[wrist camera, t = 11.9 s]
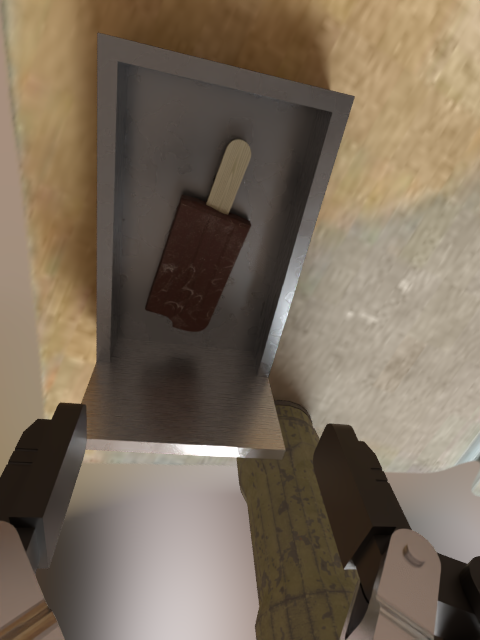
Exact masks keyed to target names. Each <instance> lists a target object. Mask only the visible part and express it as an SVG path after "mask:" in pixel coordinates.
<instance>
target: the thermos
mask: <svg viewBox="0 0 480 640" xmlns="http://www.w3.org/2000/svg"><path fill="white" fill-rule="evenodd" d="M274 404H275V408H276V412H277V416H278V420H279V425H280V429H281V433H282V437H283V441H284V445H285V453H284V456H283V458H282V460H280V459H261V458H242V457H237V467H238V476H239V485H240V490H241V493H242V495H243V497H244V499H245V501H246V502H247V505H248V514H249V522H250V531H251V539H252V547H253V555H254V565H255V573H256V582H257V590H258V598H259V611H258V615H257V620H256V624H255V630H256V639H257V640H340V637H341V633H342V630H343V627H344V623H345V620H346V617H347V613H348V610H349V607H350V604H351V600H352V597H353V594H354V590H355V587H356V584H357V581H358V580H359V579H360V578H359V575H358V572H357V569H343V566H342V563H341V559H340V556H339V553H338V549H337V546H336V542H335V539H334V536H333V532H332V529H331V526H330V522H329V519H328V516H327V512H326V509H325V506H324V502H323V499H322V496H321V492H320V489H319V486H318V482H317V479H316V475H315V472H314V468H313V455H314V451H315V449H316V447H317V444H318V442H319V437H318V435H317V433H316V431H315V429H314V428H313V426H312V421H311V418H310V416H309V414H308V412H307V411H306V410H305V409H304V408H302V407H301V406H300V405H298V404H295V403H292V402H290V401H279V400H276V401H274Z"/></svg>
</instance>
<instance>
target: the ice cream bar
mask: <svg viewBox="0 0 480 640" xmlns="http://www.w3.org/2000/svg"><path fill="white" fill-rule="evenodd" d="M250 158H251V149H250V146H249V145H248V144H247V142H245V141H244V140H242V139H234V140H232V141H231V142H230V143H229V144H228V145H227V147H226V149H225V152H224V155H223V158H222V160H221V163H220V166H219V169H218V171H217V174H216V177H215V180H214V183H213V185H212V188H211V191H210V194H209V196H208V199H207V202H205V201H202V200H200V199H198V198H194V197H190V196H186V195H181V198H180V201H179V204H178V207H177V210H176V213H175V216H174V220H173V223H172V226H171V229H170V232H169V235H168V238H167V241H166V244H165V247H164V250H163V253H162V256H161V259H160V262H159V266H158V269H157V272H156V275H155V278H154V281H153V284H152V287H151V290H150V293H149V296H148V299H147V302H146V306H145V310H146V311H150V312H153V313H157V314H160V315H163V316H166V317H168V318H169V319H170V320H171V321H172V327H174V328H178V329H181V330H185V331H189V332H199V331H202V330H203V329H205V328H206V327H207V326H208V324H209V322H210V320H211V317H212V315H213V313H214V310H215V308H216V306H217V304H218V301H219V299H220V297H221V294H222V292H223V290H224V287H225V285H226V283H227V280H228V278H229V276H230V274H231V271H232V269H233V267H234V264H235V262H236V260H237V257H238V255H239V253H240V250H241V248H242V246H243V243H244V241H245V239H246V237H247V234H248V232H249V230H250V227H251V223H250V221H249V220H247V219H245V218H243V217H240V216H238V215H236V214H232V213H229V211H230V209H231V206H232V204H233V201H234V199H235V196H236V194H237V191H238V189H239V186H240V184H241V181H242V179H243V176H244V173H245V171H246V168H247V166H248V163H249V161H250Z"/></svg>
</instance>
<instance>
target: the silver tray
mask: <svg viewBox="0 0 480 640" xmlns="http://www.w3.org/2000/svg"><path fill="white" fill-rule="evenodd" d="M354 97H355V96H351V95H347V94H343V93H339V92H335V91H331V90H327V89H323V88H319V87H315V86H311V85H307V84H303V83H299V82H295V81H291V80H287V79H283V78H279V77H275V76H271V75H267V74H263V73H259V72H255V71H251V70H247V69H243V68H239V67H234V66H230V65H226V64H222V63H218V62H214V61H210V60H206V59H202V58H198V57H194V56H190V55H186V54H182V53H178V52H174V51H170V50H166V49H162V48H158V47H154V46H150V45H146V44H142V43H138V42H134V41H130V40H126V39H122V38H118V37H114V36H110V35H106V34H102V33H97V362H96V365H95V367H94V370H93V373H92V375H91V378H90V381H89V384H88V386H87V389H86V392H85V394H84V397H83V400H82V403H81V404H86V410H87V442H86V450H105V451H125V452H144V453H164V454H183V455H203V456H222V457H242V458H261V459H280V460H282V458H283V456H284V453H285V445H284V441H283V437H282V433H281V429H280V425H279V420H278V416H277V412H276V408H275V404H274V400H273V396H272V391H271V387H270V383H269V379H268V377H269V374H270V370H271V367H272V364H273V361H274V357H275V354H276V351H277V348H278V344H279V341H280V338H281V335H282V331H283V328H284V325H285V322H286V318H287V315H288V312H289V309H290V305H291V302H292V299H293V295H294V292H295V289H296V286H297V282H298V279H299V276H300V273H301V269H302V266H303V263H304V260H305V256H306V253H307V250H308V247H309V243H310V240H311V237H312V234H313V230H314V227H315V224H316V221H317V217H318V214H319V211H320V208H321V204H322V201H323V198H324V195H325V191H326V188H327V185H328V182H329V178H330V175H331V172H332V169H333V165H334V162H335V159H336V156H337V152H338V149H339V146H340V143H341V139H342V136H343V133H344V130H345V126H346V123H347V120H348V117H349V113H350V110H351V107H352V104H353V100H354ZM234 139H242V140H244V141H245V142H247V144H248V145H249V146H250V149H251V158H250V161H249V163H248V166H247V168H246V171H245V173H244V176H243V179H242V181H241V184H240V186H239V189H238V191H237V194H236V196H235V199H234V201H233V204H232V206H231V209H230V211H229V213H232V214H236V215H238V216H240V217H243V218H245V219H247V220H249V221H250V223H251V227H250V230H249V232H248V234H247V237H246V239H245V241H244V243H243V246H242V248H241V250H240V253H239V255H238V257H237V260H236V262H235V264H234V267H233V269H232V271H231V274H230V276H229V278H228V280H227V283H226V285H225V287H224V290H223V292H222V294H221V297H220V299H219V301H218V304H217V306H216V308H215V310H214V313H213V315H212V317H211V320H210V322H209V324H208V326H207V327H206V328H205V329H203V330H202V331H199V332H189V331H185V330H181V329H178V328H174V327H172V321H171V320H170V319H169V318H168V317H166V316H163V315H160V314H157V313H153V312H150V311H146V310H145V306H146V302H147V299H148V296H149V293H150V290H151V287H152V284H153V281H154V278H155V275H156V272H157V269H158V266H159V262H160V259H161V256H162V253H163V250H164V247H165V244H166V241H167V238H168V235H169V232H170V229H171V226H172V223H173V220H174V216H175V213H176V210H177V207H178V204H179V201H180V198H181V195H186V196H190V197H194V198H198V199H200V200H202V201H205V202H207V199H208V196H209V194H210V191H211V188H212V185H213V183H214V180H215V177H216V174H217V171H218V169H219V166H220V163H221V160H222V158H223V155H224V152H225V149H226V147H227V145H228V144H229V143H230V142H231V141H232V140H234Z"/></svg>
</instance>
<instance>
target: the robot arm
mask: <svg viewBox="0 0 480 640" xmlns="http://www.w3.org/2000/svg"><path fill="white" fill-rule="evenodd" d="M86 442H87V410H86V404H74V403H59V405H58V406H57V408H56V411H55V413H54V415H53V417H52V420H47V419H37V420H36V421H35V422H34V423H33V424H32V425H31V426H30V427H28V428H27V429H26V430H25V431H24V432H23V434H22V436H21V438H20V440H19V442H18V444H17V446H16V448H15V451H13V453H12V455H11V457H10V459H9V462H8V465H6V467H5V469H4V471H3V473H2V475H1V477H0V640H65V639H64V637H63V634H62V632H61V630H60V627H59V625H58V622H57V620H56V618H55V616H54V614H53V612H52V610H51V609H50V608H49V607H48V606H47V603H46V601H45V599H44V596H43V594H42V591H41V589H40V587H39V584H38V582H37V579H36V577H35V573H36V570H37V568H49V567H50V563H51V560H52V557H53V553H54V551H55V547H56V544H57V541H58V538H59V534H60V531H61V528H62V525H63V521H64V518H65V515H66V512H67V508H68V506H69V502H70V499H71V496H72V492H73V489H74V486H75V483H76V480H77V477H78V473H79V470H80V467H81V464H82V461H83V457H84V453H85V449H86ZM313 468H314V472H315V475H316V479H317V482H318V486H319V489H320V492H321V496H322V499H323V502H324V506H325V509H326V512H327V516H328V519H329V522H330V526H331V529H332V532H333V536H334V539H335V542H336V546H337V549H338V553H339V556H340V559H341V563H342V566H343V569H357V572H358V575H359V578H360V579H359V580H358V581H357V584H356V587H355V590H354V594H353V597H352V600H351V604H350V607H349V610H348V613H347V617H346V620H345V623H344V627H343V630H342V633H341V637H340V640H480V556H478V557H475V558H473V559H472V560H471V561H470V562H469V563H468V564H466V563H463V562H460V561H458V560H455V559H452V558H449V557H447V556H444V555H441V554H439V553H437V552H436V551H435V549H434V548H433V546H432V545H431V544H430V543H429V542H428V541H427V540H426V539H425V538H424V537H423V536H421V535H420V534H418V533H417V532H414V531H412V529H411V528H410V526H409V524H408V522H407V519H406V517H405V515H404V513H403V511H402V509H401V507H400V505H399V503H398V501H397V498H396V496H395V494H394V493H393V490H392V488H391V486H390V484H389V483H388V482H387V478H386V475H385V473H384V471H382V467H381V465H380V463H379V461H378V459H377V457H376V455H375V453H374V452H373V451H372V450H371V449H370V448H369V447H368V445H367V444H366V443H365V442H363V441H358V439H357V437H356V434H355V432H354V430H353V428H352V427H351V426H350V425H343V424H327V425H326V427H325V429H324V431H323V433H322V436H321V438H320V440H319V442H318V444H317V447H316V449H315V451H314V455H313Z"/></svg>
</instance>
